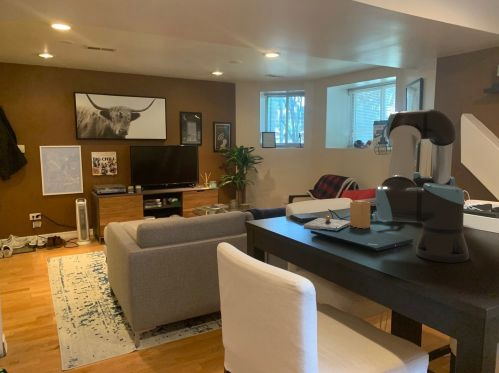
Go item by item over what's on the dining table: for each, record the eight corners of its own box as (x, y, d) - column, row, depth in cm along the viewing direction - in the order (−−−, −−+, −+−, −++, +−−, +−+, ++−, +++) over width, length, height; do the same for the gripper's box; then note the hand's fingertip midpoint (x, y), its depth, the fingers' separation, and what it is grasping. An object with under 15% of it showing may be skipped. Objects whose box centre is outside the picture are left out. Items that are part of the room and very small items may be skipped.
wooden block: (370, 227, 161) (370, 201, 159) (360, 229, 158) (360, 202, 156) (359, 224, 166) (359, 199, 165) (350, 226, 163) (350, 201, 162)
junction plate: (338, 231, 154) (338, 221, 154) (303, 227, 164) (303, 217, 163) (351, 224, 167) (351, 214, 167) (319, 220, 176) (319, 211, 176)
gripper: (420, 218, 163) (388, 224, 153) (376, 210, 185) (345, 215, 175) (421, 201, 162) (388, 207, 152) (376, 195, 184) (345, 200, 174)
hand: (365, 211), depth 163 cm, fingers open, 13 cm apart
